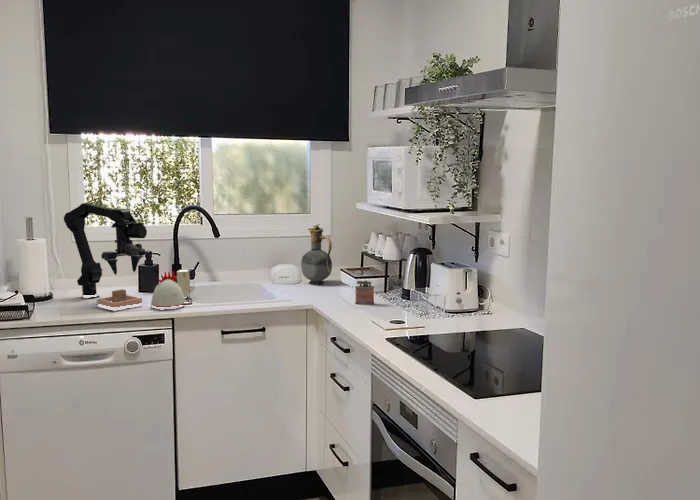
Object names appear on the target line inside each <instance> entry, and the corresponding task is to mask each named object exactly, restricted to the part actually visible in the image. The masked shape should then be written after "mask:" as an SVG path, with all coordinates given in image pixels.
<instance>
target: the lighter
mask: <svg viewBox="0 0 700 500" xmlns="http://www.w3.org/2000/svg"><path fill="white" fill-rule="evenodd" d="M354 288H355V302H354V303H355V305H366V306H367V305H375V300H374V298H375V293H374V292H375V291H374V290H375V286H373V285H372V281H367V280H365V279H364V280H357V281H356V285H355V286H354Z"/></svg>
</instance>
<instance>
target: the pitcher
mask: <svg viewBox="0 0 700 500" xmlns="http://www.w3.org/2000/svg"><path fill="white" fill-rule="evenodd" d="M320 225H321V223H318V224H314V225H312V226H311V227H312V228H309V227H308V228H307V231H308V232H310V233H309V234H310V244H311V245H310V246H311V248H310V250H308V251H306V252H305V253H304V254H303V256H302V257H301V261H300V267H301V272H302V275H303V276H304V278H306V279H308V280H309V282H308V284H309V285H313V286H321V285H324V284H325V281H324V280H326V279H327V278H328V277H329V276H331V273H332V269H333V262H332V258H331V256H330V254H331V253H332V252H331V251H332V247H333V246H332V240H331V238H330V237H329V236H327V235H323V232H324V228H323V227H320ZM323 240H327V243H328V250H327V251H328V253H327V252H326V251H325V250H322V242H323Z"/></svg>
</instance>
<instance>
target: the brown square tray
mask: <svg viewBox="0 0 700 500" xmlns="http://www.w3.org/2000/svg"><path fill="white" fill-rule="evenodd" d="M111 301H112V296H108V297H102V298H97V299H96V304H97V303H98V304H102V305H106V306H110V307H120V306H126V305H133V304H139V303H142V304H143V298H142V297H137V296H133V295H128V294H126V297H124V298H119V299H118V302H111Z"/></svg>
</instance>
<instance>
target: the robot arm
mask: <svg viewBox="0 0 700 500" xmlns="http://www.w3.org/2000/svg"><path fill="white" fill-rule="evenodd" d="M90 214H93V215H96V216H101V217H105V218H108V219H109V220H110V221H112V222H114V223H113V224H112V225H111V226H110V227H111V228H113V229H114V228H115V237H116V239H115V240H114V243H116V249H115V251H102V254H101V259H103V260H104V261H105V262H107V264H108V265H109V267H110V268H111V270H112V273H113V274H114V275H115V276H116V275H118V268H117V266H118V265H117V262H118V259H117V257H118V258H119V257H124V256H128V257H130V260H131V261H130V262H131V268H132V272H133V273H134V272H136V271H137V266H138V264H139V262H140V260H141V259H142V258H144V256H146V255H147V252H146V251H147V250H146V249H145V248H143V244H141V243H136V244H134V243H133V240H132V239H145V238H146V237H147V233H148V230H147V228H146V226H145V225H144V222H137V220H136V219H135V217H134V216H133V215H132V213H131V211H130V209H128V208H110V207H107V206H102V205H98V204H94V203H91V202H83V203H81V204H80V205H79V206H77V207H75V208H74V209H72V210H71V211H68V212H65V214H64V216H63V222H64V223H65V226H66V227H67V228H68V230H69V231H70V232H71V233H72V236H73V238H74V242H75V244H76V247H77V252H78V254H79V256H80V260H81V267H80V273H81V275H80V276H79V278H78V279H77V280H76V282H77V285H78V286H81V292H82V293H81V294H82V296H83V295H95V294H97V284H99V283H100V280H101V278H102V276H103V271H104V270H103V268H102V266H101V263H100V262H96V261H95V260H94V257H93V253H92V250H91V248H90V244H89V241H88V238H87V235H86V231H85V226H86V220H85V219H87V218H88V216H89V215H90Z"/></svg>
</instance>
